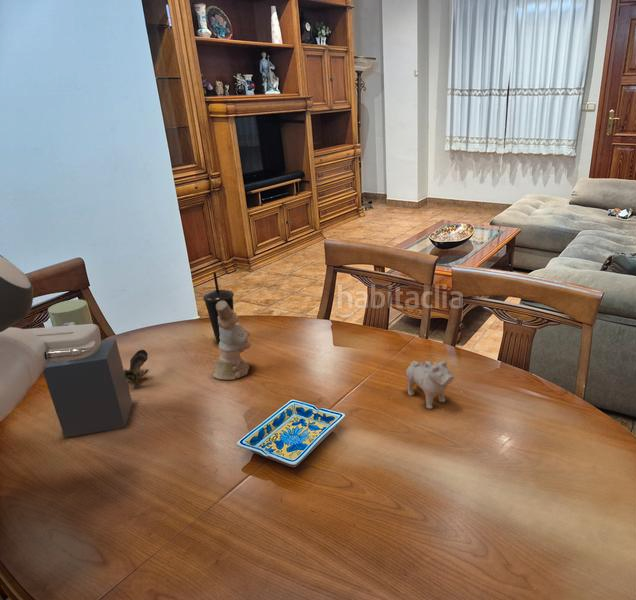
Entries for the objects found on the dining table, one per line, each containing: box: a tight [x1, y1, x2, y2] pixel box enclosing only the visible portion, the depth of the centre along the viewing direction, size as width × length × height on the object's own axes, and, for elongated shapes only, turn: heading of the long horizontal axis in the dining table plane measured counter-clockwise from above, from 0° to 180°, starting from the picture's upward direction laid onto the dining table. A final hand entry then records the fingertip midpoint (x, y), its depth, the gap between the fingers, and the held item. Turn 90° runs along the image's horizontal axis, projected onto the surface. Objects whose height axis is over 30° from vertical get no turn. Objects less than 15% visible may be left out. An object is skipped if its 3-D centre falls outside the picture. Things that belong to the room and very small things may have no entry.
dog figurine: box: [405, 360, 455, 410], centre depth 109 cm, size 5×13×11 cm, turn 39°
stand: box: [42, 338, 133, 439], centre depth 104 cm, size 11×9×16 cm
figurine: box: [212, 301, 251, 381], centre depth 120 cm, size 9×8×20 cm
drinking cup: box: [202, 271, 235, 346], centre depth 135 cm, size 8×8×20 cm
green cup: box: [47, 299, 100, 360], centre depth 99 cm, size 6×6×10 cm
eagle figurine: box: [124, 349, 149, 390], centre depth 120 cm, size 8×7×9 cm
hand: (38, 329), depth 86 cm, fingers open, 8 cm apart
